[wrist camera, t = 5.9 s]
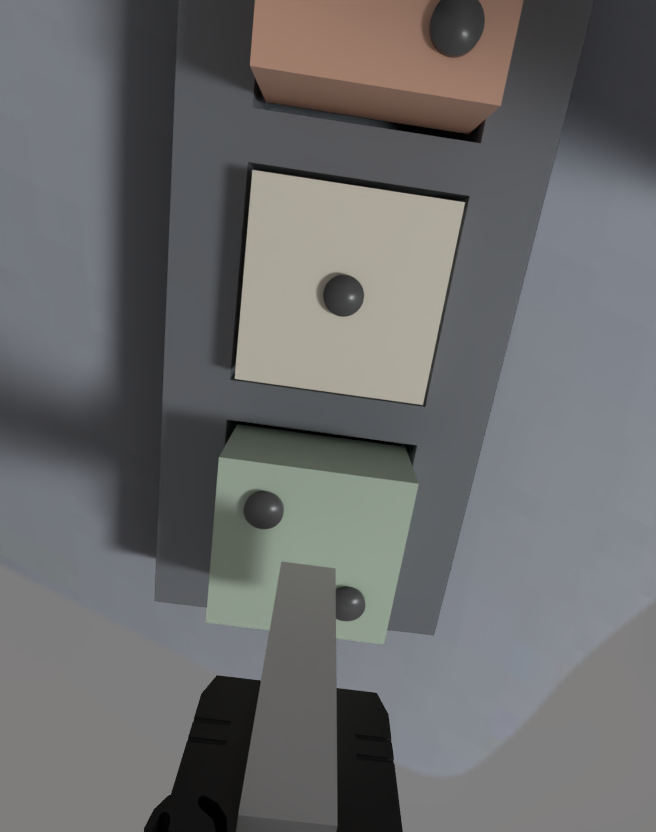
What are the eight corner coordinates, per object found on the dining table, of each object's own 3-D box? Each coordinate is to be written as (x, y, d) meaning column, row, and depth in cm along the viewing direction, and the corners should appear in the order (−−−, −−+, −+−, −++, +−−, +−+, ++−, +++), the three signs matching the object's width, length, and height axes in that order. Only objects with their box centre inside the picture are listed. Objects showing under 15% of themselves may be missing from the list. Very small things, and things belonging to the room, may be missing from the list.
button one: (266, 183, 17) (251, 168, 14) (442, 211, 17) (466, 201, 14) (249, 359, 19) (233, 380, 16) (409, 381, 19) (423, 406, 16)
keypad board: (214, -194, 14) (189, -285, 12) (594, -128, 14) (645, -202, 12) (173, 563, 22) (154, 601, 19) (423, 594, 22) (433, 635, 20)
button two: (237, 424, 18) (217, 459, 15) (404, 446, 18) (419, 486, 15) (224, 568, 20) (204, 627, 16) (376, 587, 20) (384, 648, 17)
